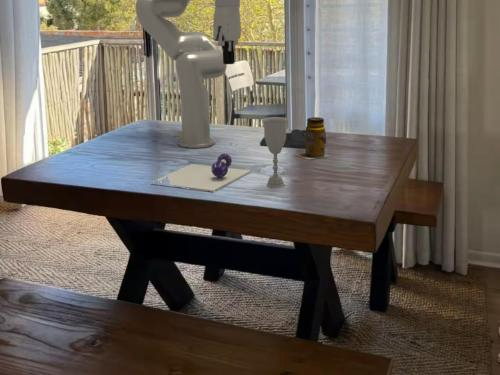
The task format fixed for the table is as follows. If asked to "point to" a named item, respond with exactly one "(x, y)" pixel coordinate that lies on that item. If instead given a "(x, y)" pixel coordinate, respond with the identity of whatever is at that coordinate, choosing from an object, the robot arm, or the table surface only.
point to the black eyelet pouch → (293, 140)
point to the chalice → (275, 144)
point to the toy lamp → (221, 165)
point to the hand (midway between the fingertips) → (228, 63)
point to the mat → (203, 177)
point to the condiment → (314, 139)
